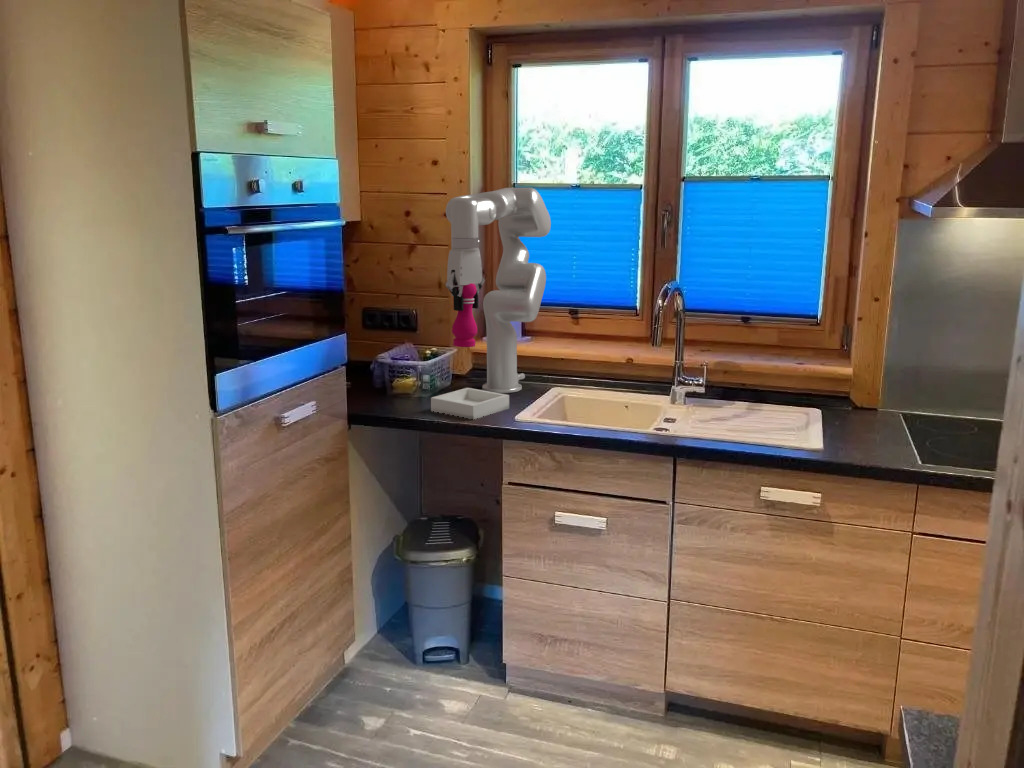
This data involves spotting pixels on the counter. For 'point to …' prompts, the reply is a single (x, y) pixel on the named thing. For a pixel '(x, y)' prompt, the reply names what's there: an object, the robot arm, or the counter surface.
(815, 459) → the counter surface
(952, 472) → the counter surface
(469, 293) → the pepper mill
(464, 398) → the tray
